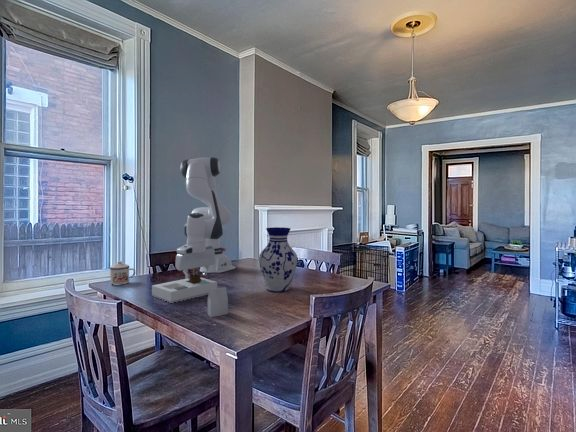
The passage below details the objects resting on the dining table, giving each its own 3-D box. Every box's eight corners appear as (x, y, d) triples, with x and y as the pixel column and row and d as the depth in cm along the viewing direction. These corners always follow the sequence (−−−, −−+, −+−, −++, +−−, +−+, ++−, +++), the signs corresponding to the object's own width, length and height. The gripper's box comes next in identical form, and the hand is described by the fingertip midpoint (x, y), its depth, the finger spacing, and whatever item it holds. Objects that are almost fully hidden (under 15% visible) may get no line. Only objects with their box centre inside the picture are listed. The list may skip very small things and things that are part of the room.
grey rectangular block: (227, 314, 130) (227, 288, 130) (211, 317, 126) (211, 290, 126) (224, 311, 133) (224, 286, 133) (207, 314, 130) (207, 288, 129)
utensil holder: (190, 292, 156) (190, 266, 156) (186, 289, 162) (186, 264, 161) (203, 290, 160) (203, 265, 159) (198, 287, 165) (198, 262, 164)
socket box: (197, 286, 171) (197, 275, 171) (217, 292, 160) (217, 281, 160) (151, 296, 153) (151, 284, 152) (170, 303, 142) (170, 291, 142)
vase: (293, 296, 155) (294, 230, 154) (253, 293, 159) (253, 229, 157) (300, 285, 174) (300, 227, 172) (264, 283, 177) (264, 226, 176)
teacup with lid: (111, 286, 169) (111, 263, 169) (108, 282, 177) (108, 260, 176) (137, 283, 176) (136, 261, 175) (133, 279, 183) (133, 258, 183)
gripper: (210, 245, 170) (210, 272, 171) (173, 249, 155) (173, 279, 155) (218, 246, 166) (218, 274, 167) (181, 250, 150) (181, 281, 151)
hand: (196, 276), depth 161 cm, fingers open, 8 cm apart
